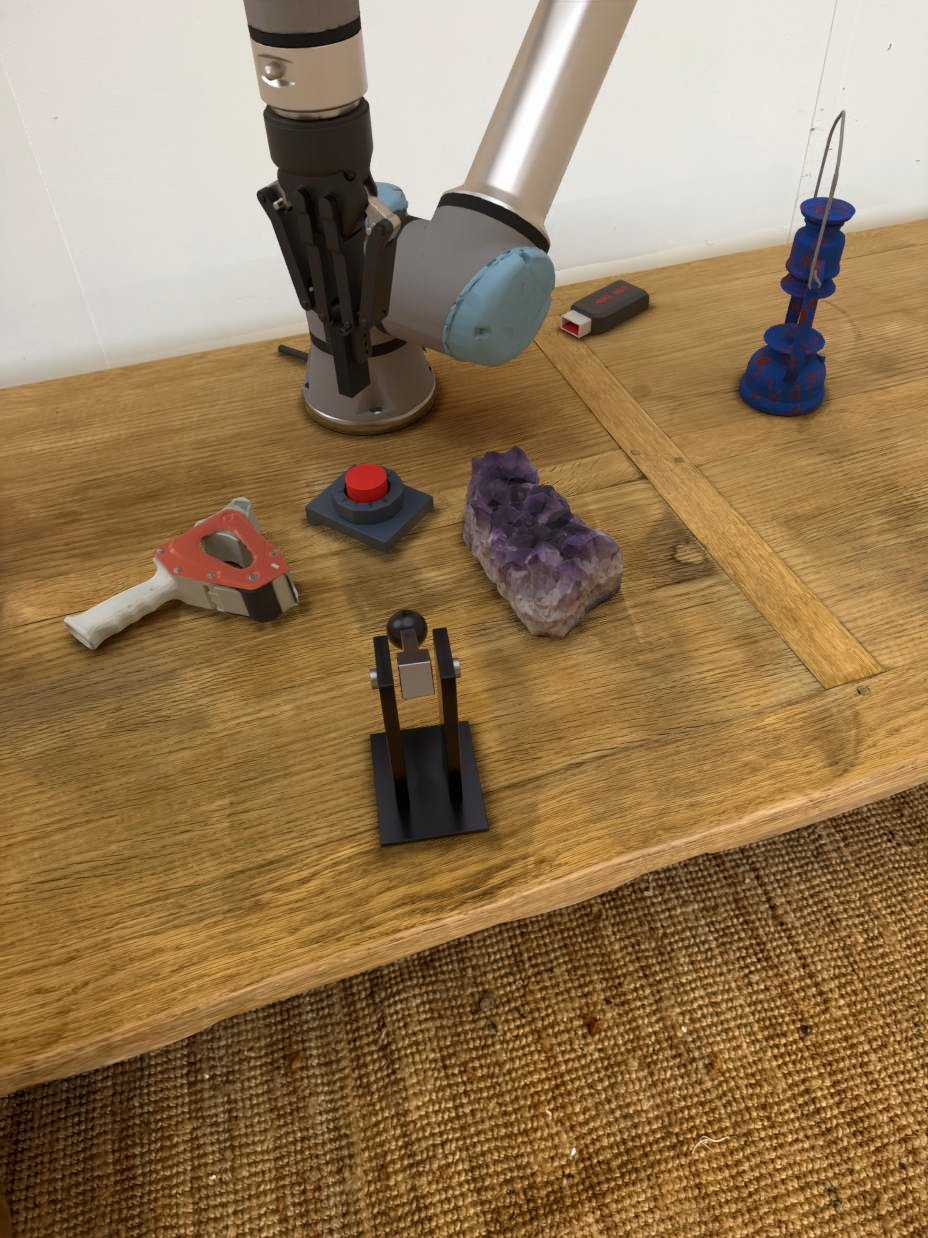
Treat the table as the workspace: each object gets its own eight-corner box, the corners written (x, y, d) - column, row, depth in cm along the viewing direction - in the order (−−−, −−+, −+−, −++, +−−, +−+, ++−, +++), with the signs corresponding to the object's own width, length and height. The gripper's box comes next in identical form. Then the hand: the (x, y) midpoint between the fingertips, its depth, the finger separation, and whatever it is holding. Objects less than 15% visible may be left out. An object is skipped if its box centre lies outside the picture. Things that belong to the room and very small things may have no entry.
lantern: (825, 423, 103) (913, 134, 81) (738, 415, 104) (800, 130, 82) (820, 370, 110) (900, 91, 88) (738, 363, 111) (796, 87, 89)
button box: (307, 523, 94) (301, 492, 91) (356, 480, 99) (352, 449, 96) (387, 559, 90) (383, 528, 87) (434, 512, 95) (432, 481, 92)
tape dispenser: (69, 662, 85) (277, 678, 81) (43, 624, 81) (260, 640, 77) (143, 526, 96) (330, 535, 92) (124, 487, 92) (318, 494, 88)
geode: (418, 531, 93) (422, 444, 86) (516, 504, 98) (526, 418, 91) (529, 659, 80) (544, 568, 74) (635, 620, 85) (658, 531, 78)
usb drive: (648, 307, 121) (651, 287, 119) (585, 342, 116) (586, 322, 114) (618, 293, 124) (620, 273, 122) (554, 326, 118) (555, 306, 116)
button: (338, 494, 92) (336, 480, 90) (363, 472, 94) (361, 458, 92) (371, 508, 90) (369, 494, 89) (396, 486, 92) (394, 471, 91)
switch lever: (388, 645, 74) (383, 607, 73) (428, 640, 74) (423, 601, 73) (395, 706, 62) (389, 661, 61) (443, 699, 62) (438, 654, 61)
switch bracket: (371, 742, 76) (347, 609, 64) (468, 728, 76) (462, 594, 65) (382, 852, 69) (358, 725, 58) (489, 836, 70) (486, 707, 58)
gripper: (209, 101, 66) (271, 388, 83) (356, 135, 61) (389, 432, 78) (279, 69, 70) (323, 348, 88) (421, 98, 65) (439, 388, 83)
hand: (354, 388), depth 83 cm, fingers closed
